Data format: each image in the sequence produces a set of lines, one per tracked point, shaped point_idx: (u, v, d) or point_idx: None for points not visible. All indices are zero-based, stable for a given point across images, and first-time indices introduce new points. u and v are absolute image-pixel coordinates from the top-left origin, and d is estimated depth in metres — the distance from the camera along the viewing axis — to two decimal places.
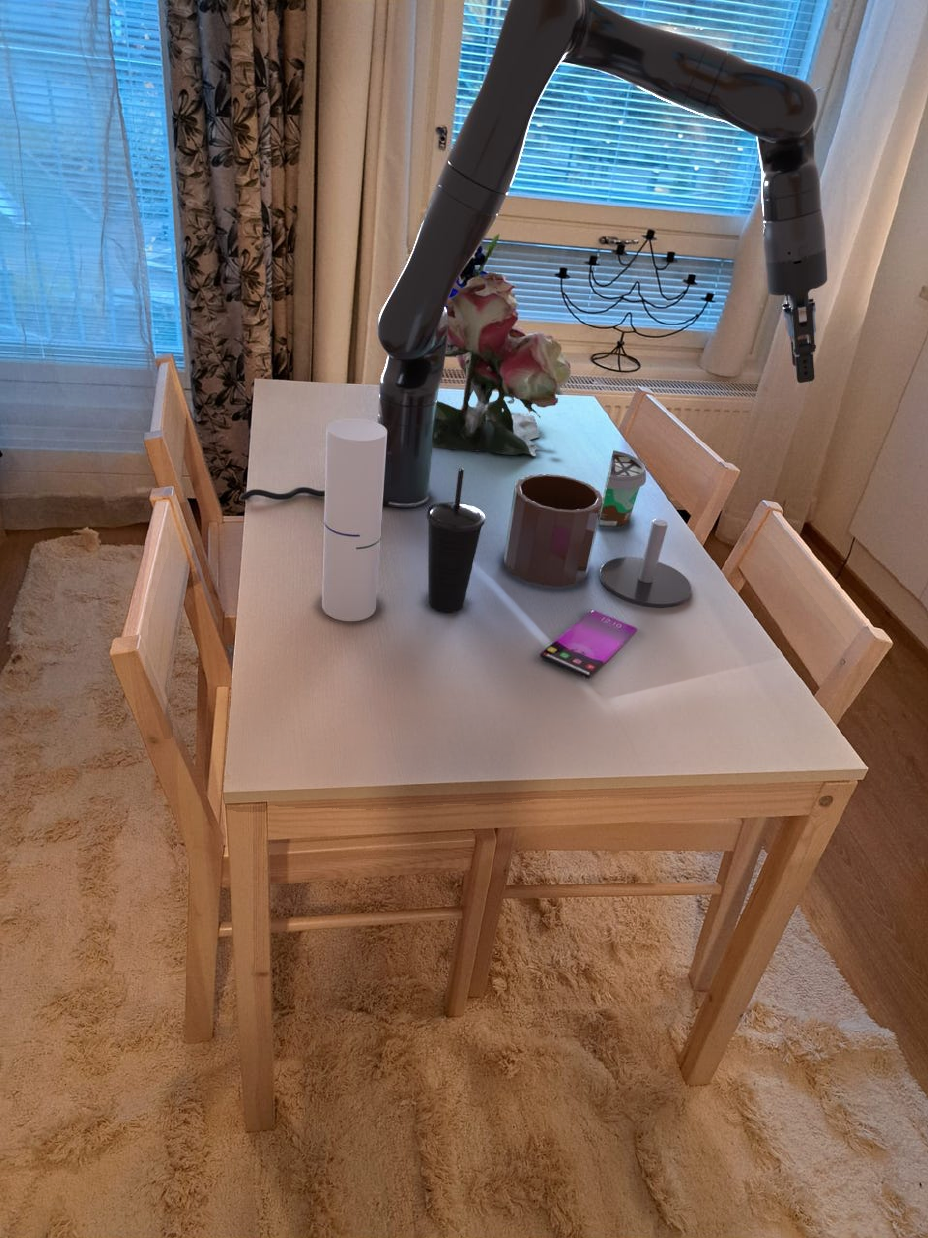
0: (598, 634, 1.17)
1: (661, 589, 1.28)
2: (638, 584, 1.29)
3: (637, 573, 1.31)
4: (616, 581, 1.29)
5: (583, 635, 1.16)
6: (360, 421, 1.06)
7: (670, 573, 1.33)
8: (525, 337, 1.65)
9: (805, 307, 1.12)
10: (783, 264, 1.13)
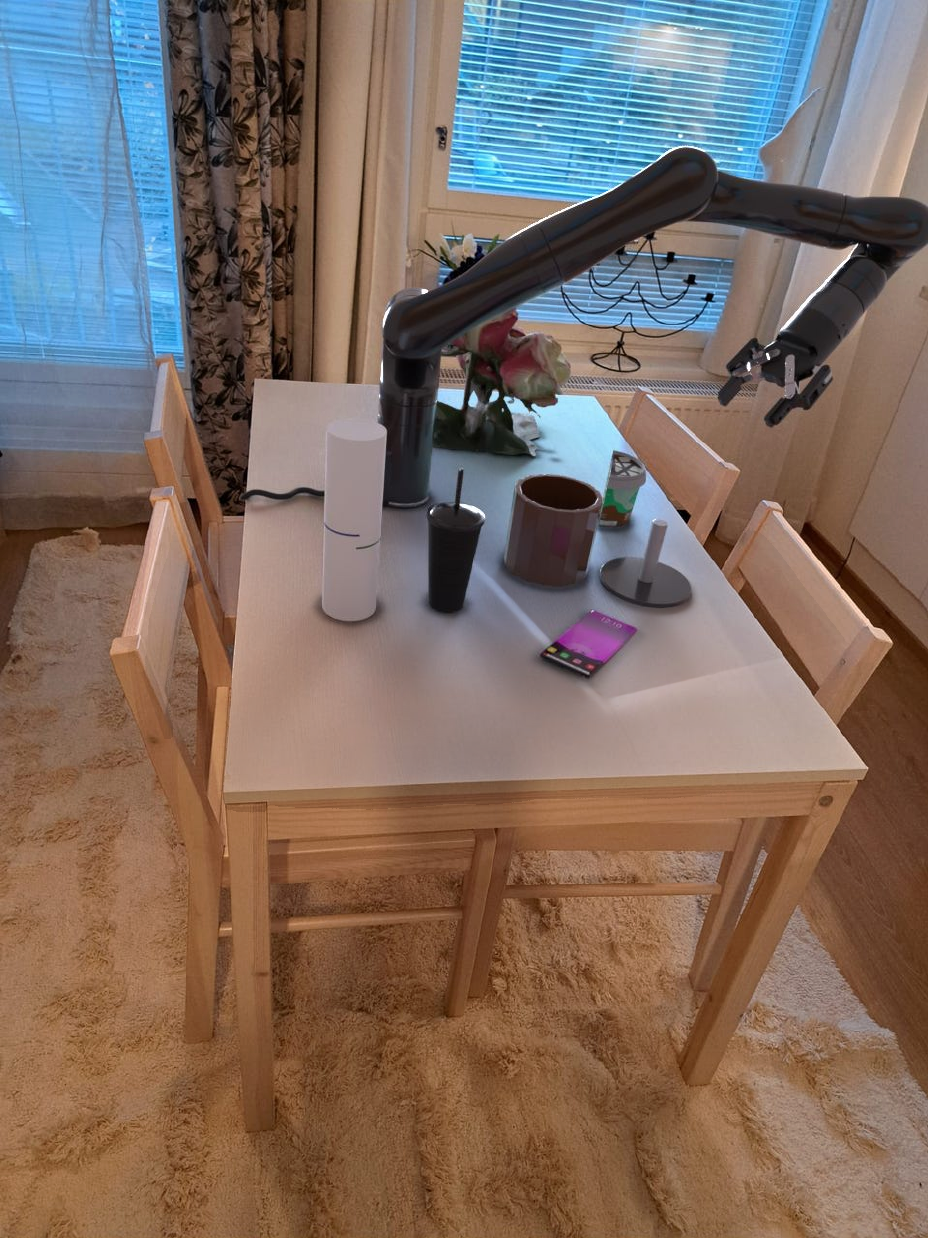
0: (598, 634, 1.17)
1: (661, 589, 1.28)
2: (638, 584, 1.29)
3: (637, 573, 1.31)
4: (616, 581, 1.29)
5: (583, 635, 1.16)
6: (360, 421, 1.06)
7: (670, 573, 1.33)
8: (525, 337, 1.65)
9: (831, 374, 1.19)
10: (834, 327, 1.19)
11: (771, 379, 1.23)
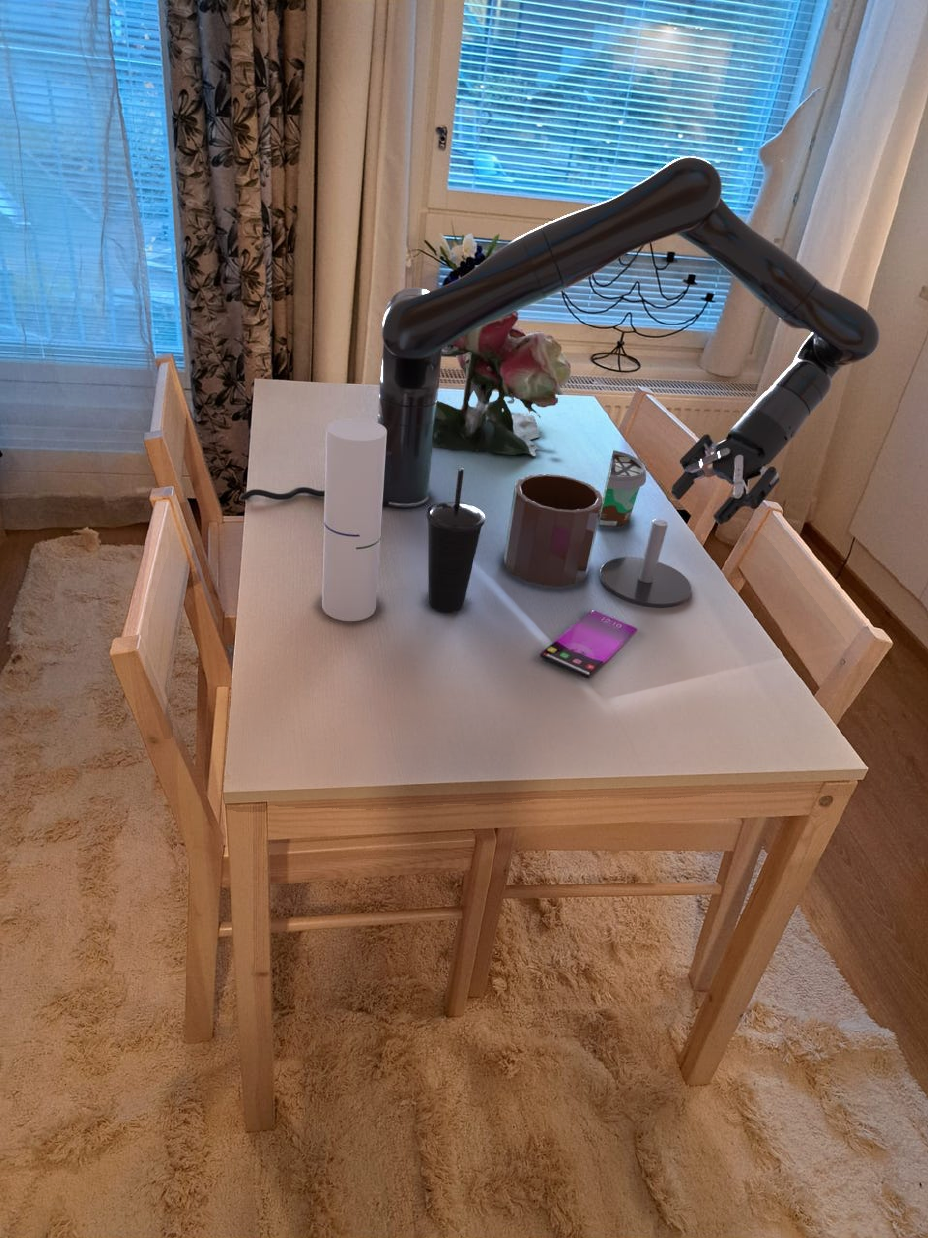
0: (598, 634, 1.17)
1: (661, 589, 1.28)
2: (638, 584, 1.29)
3: (637, 573, 1.31)
4: (616, 581, 1.29)
5: (583, 635, 1.16)
6: (360, 421, 1.06)
7: (670, 573, 1.33)
8: (525, 337, 1.65)
9: (778, 475, 1.24)
10: (781, 430, 1.25)
11: (722, 476, 1.29)
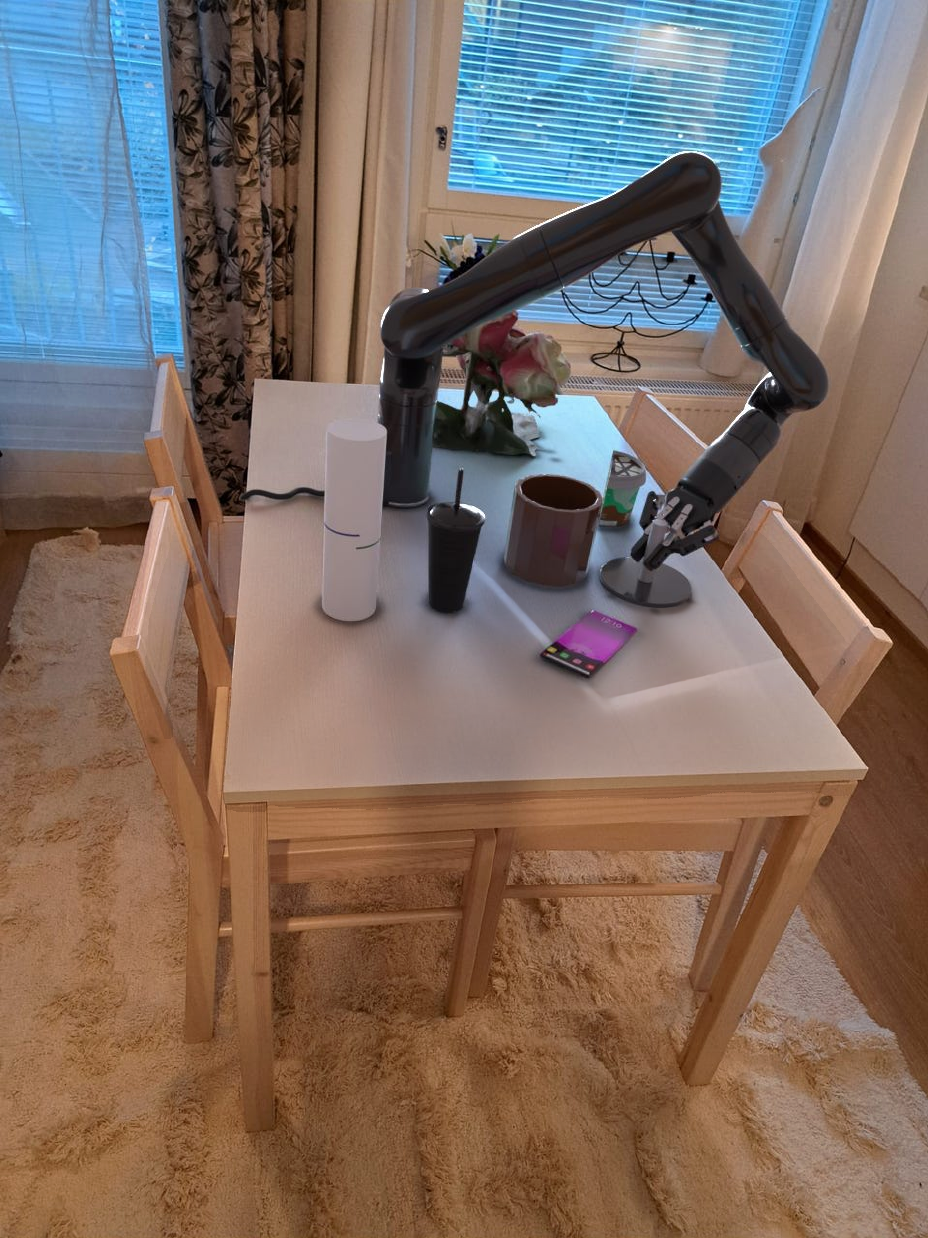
0: (598, 634, 1.17)
1: (661, 589, 1.28)
2: (638, 584, 1.29)
3: (637, 573, 1.31)
4: (616, 581, 1.29)
5: (583, 635, 1.16)
6: (360, 421, 1.06)
7: (670, 573, 1.33)
8: (525, 337, 1.65)
9: (717, 535, 1.23)
10: (730, 480, 1.24)
11: (672, 525, 1.28)
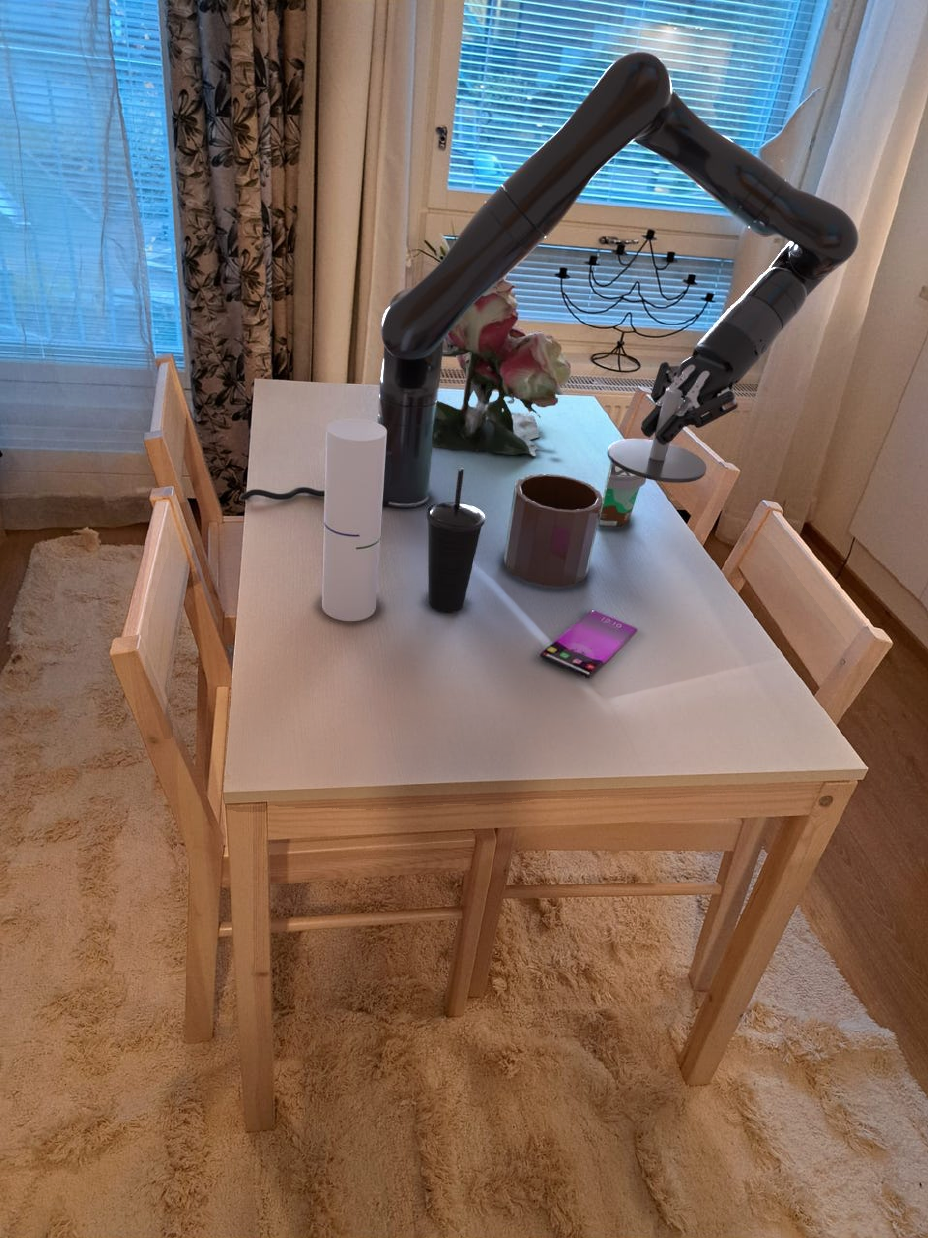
0: (598, 634, 1.17)
1: (674, 466, 1.18)
2: (649, 461, 1.19)
3: (648, 452, 1.22)
4: (625, 458, 1.19)
5: (583, 635, 1.16)
6: (360, 421, 1.06)
7: (683, 453, 1.23)
8: (525, 337, 1.65)
9: (736, 402, 1.13)
10: (750, 343, 1.14)
11: None
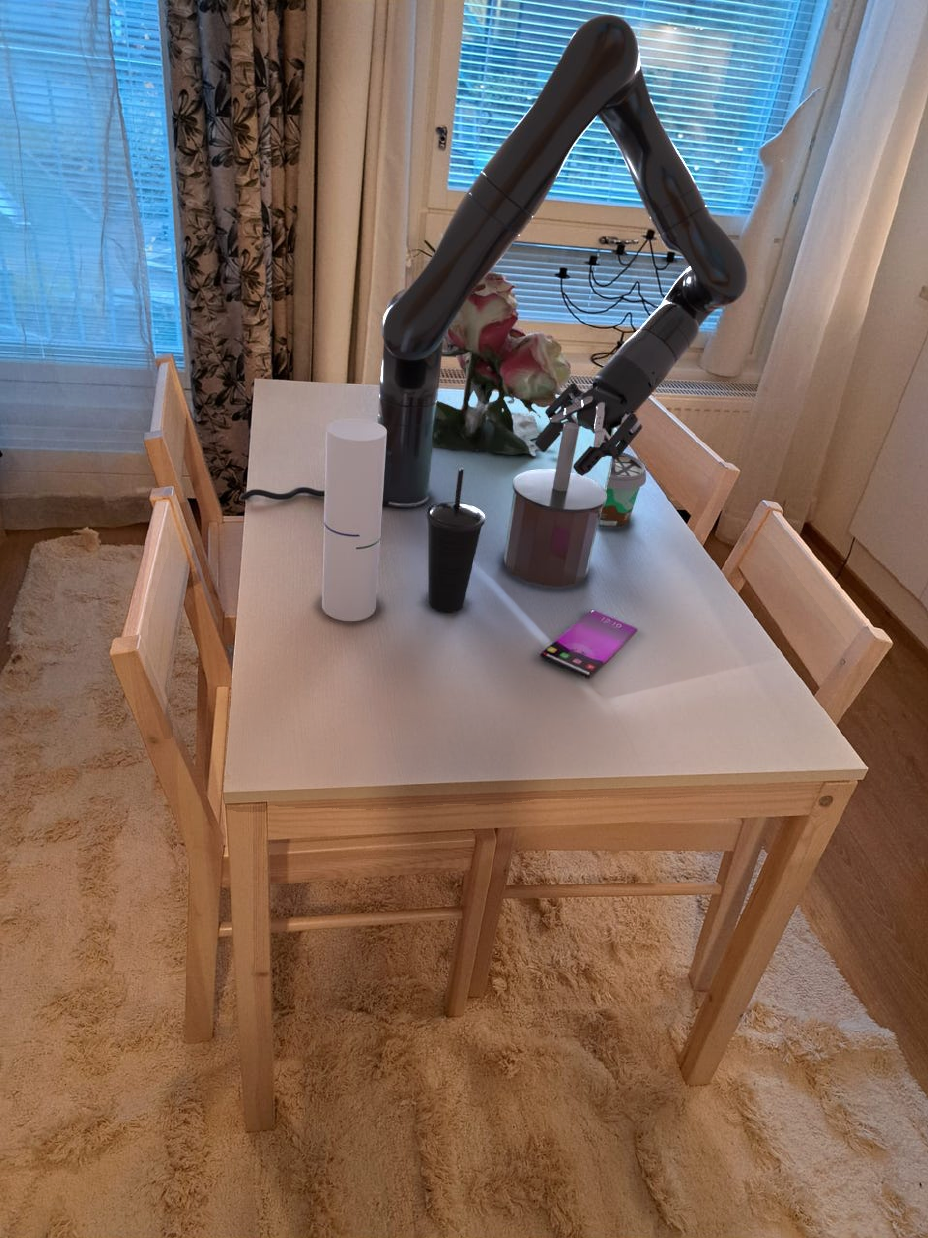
0: (598, 634, 1.17)
1: (575, 497, 1.23)
2: (551, 492, 1.24)
3: (552, 483, 1.27)
4: (528, 489, 1.24)
5: (583, 635, 1.16)
6: (360, 421, 1.06)
7: (587, 483, 1.28)
8: (525, 337, 1.65)
9: None
10: (643, 376, 1.18)
11: (586, 426, 1.22)
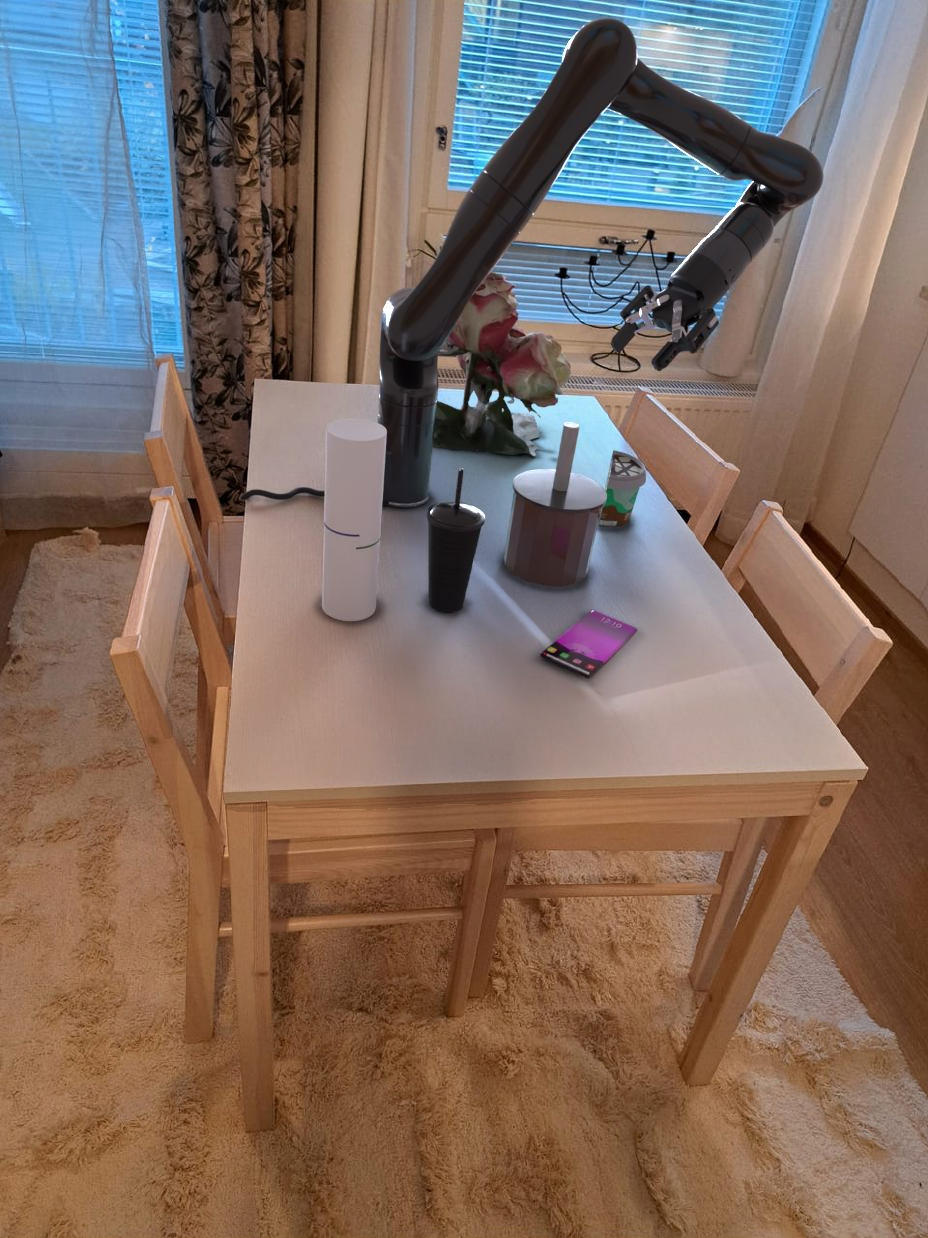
0: (598, 634, 1.17)
1: (575, 497, 1.23)
2: (551, 492, 1.24)
3: (552, 483, 1.27)
4: (528, 489, 1.24)
5: (583, 635, 1.16)
6: (360, 421, 1.06)
7: (587, 483, 1.28)
8: (525, 337, 1.65)
9: None
10: (720, 272, 1.21)
11: (662, 325, 1.25)
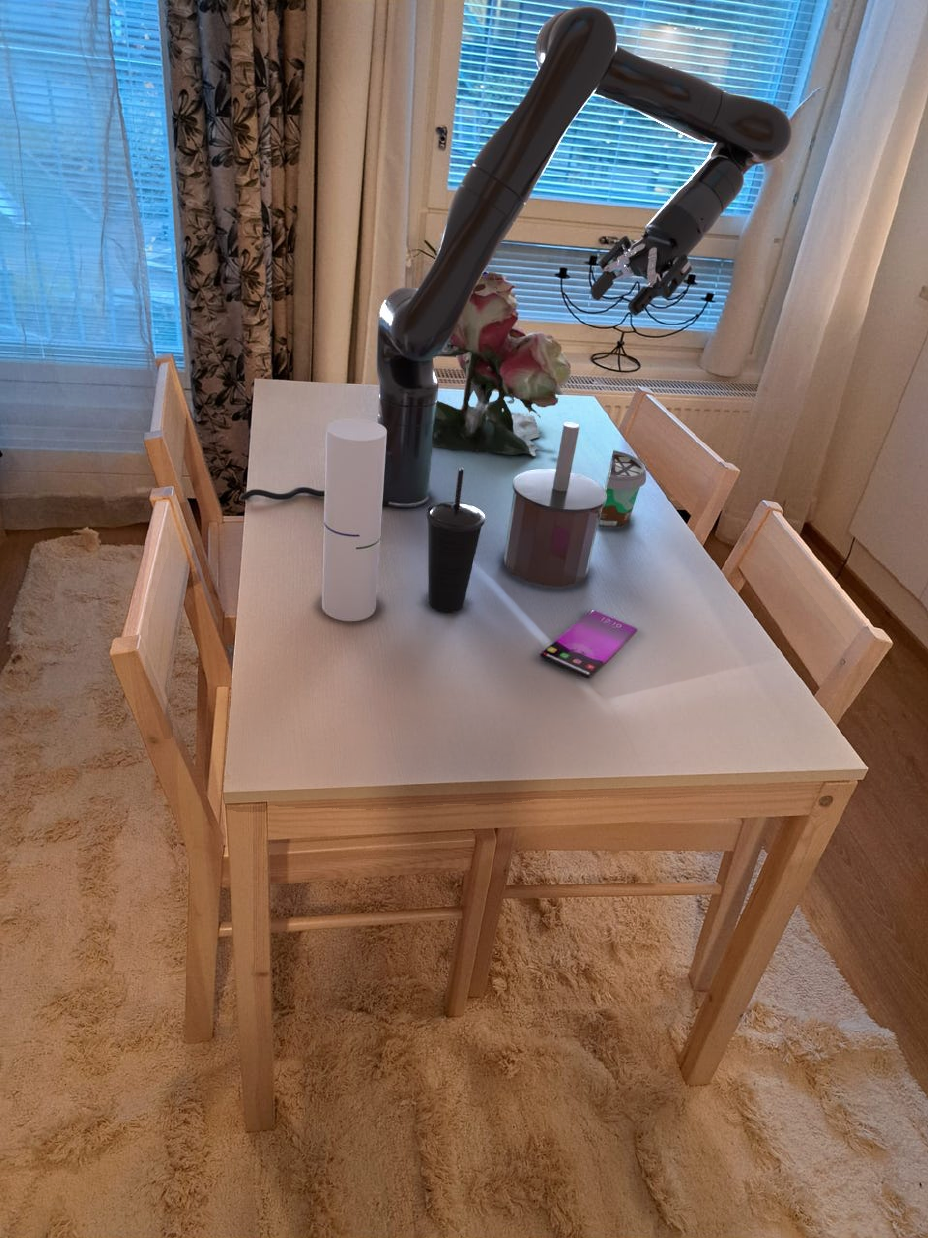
0: (598, 634, 1.17)
1: (575, 497, 1.23)
2: (551, 492, 1.24)
3: (552, 483, 1.27)
4: (528, 489, 1.24)
5: (583, 635, 1.16)
6: (360, 421, 1.06)
7: (587, 483, 1.28)
8: (525, 337, 1.65)
9: None
10: (693, 221, 1.28)
11: (638, 272, 1.32)
